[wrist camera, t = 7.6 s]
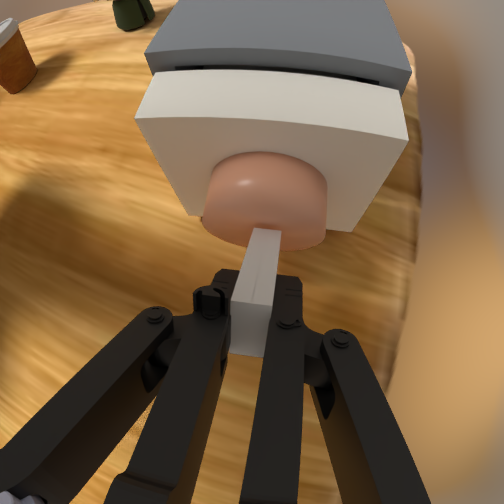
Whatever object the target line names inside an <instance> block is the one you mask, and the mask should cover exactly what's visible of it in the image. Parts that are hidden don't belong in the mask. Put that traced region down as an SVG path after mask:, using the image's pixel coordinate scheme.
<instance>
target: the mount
mask: <svg viewBox="0 0 504 504" xmlns="http://www.w3.org/2000/svg"><path fill="white" fill-rule="evenodd" d="M144 54H145V57H146V60H147V62H148V65H149V67H150V70H151V72H152V75H153V76H154V74H155V72H167V71H184V70H203V67H204V65H254V66H273V67H286V68H297V69H307V70H316V71H323V72H331V73H337V74H344V75H350V76H356V78H357V82H361V83H367V84H372V85H377V86H382V87H386V88H391V89H395V90H399V94H400V99H401V97H402V94H403V92H404V90H405V88H406V85H407V83H408V81H409V78H410V76H411V74H412V70H411V67H410V64H409V61H408V58H407V55H406V52H405V49H404V47H403V44H402V41H401V39H400V36H399V34H398V31H397V29H396V26H395V24H394V22H393V20H392V17H391V15H390V12H389V10H388V8H387V6H386V3H385V1H384V0H179V1H178V2H177V3H176V5H175V6H174V8H173V9H172V11H171V12H170V13H169V15H168V16H167V18H166V19H165V21H164V22H163V24H162V25H161V27H160V28H159V30H158V31H157V33H156V35H155V36H154V38H153V39H152V41H151V43H150V44H149V46H148V47H147V49H146V51H145V52H144Z"/></svg>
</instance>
